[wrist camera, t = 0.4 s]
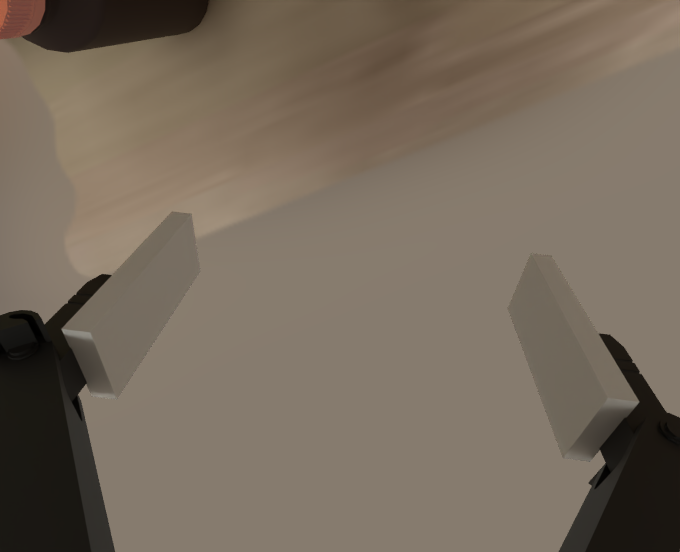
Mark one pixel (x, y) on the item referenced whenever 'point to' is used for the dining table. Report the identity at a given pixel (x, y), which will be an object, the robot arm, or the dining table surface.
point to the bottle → (96, 21)
